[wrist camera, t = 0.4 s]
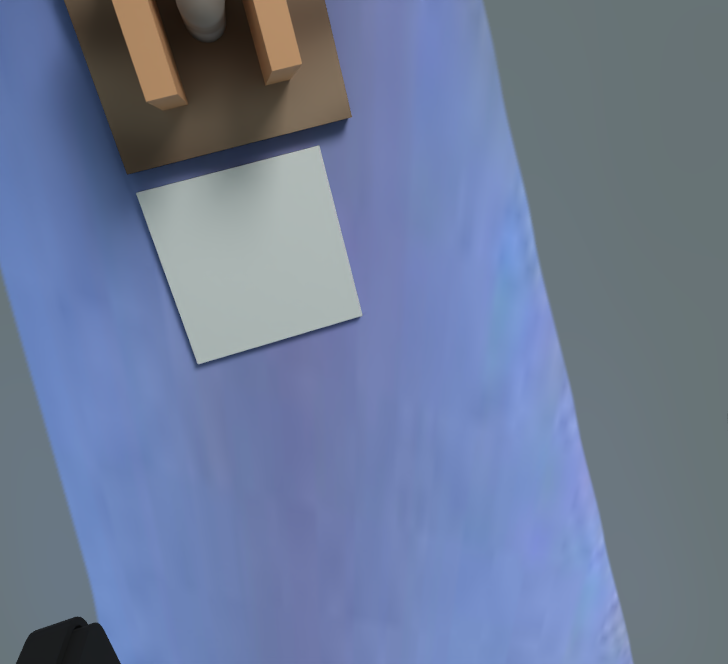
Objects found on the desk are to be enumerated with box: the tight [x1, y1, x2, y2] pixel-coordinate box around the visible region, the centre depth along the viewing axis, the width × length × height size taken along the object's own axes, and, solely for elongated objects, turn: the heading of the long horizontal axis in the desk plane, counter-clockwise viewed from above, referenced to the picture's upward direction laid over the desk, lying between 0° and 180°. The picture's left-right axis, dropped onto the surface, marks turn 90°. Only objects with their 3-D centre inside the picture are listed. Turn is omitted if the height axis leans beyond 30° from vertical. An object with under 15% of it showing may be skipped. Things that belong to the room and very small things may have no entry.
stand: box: [64, 0, 352, 174], centre depth 28 cm, size 12×12×6 cm
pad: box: [136, 146, 362, 364], centre depth 34 cm, size 10×10×1 cm
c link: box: [112, 0, 302, 111], centre depth 27 cm, size 7×7×6 cm
